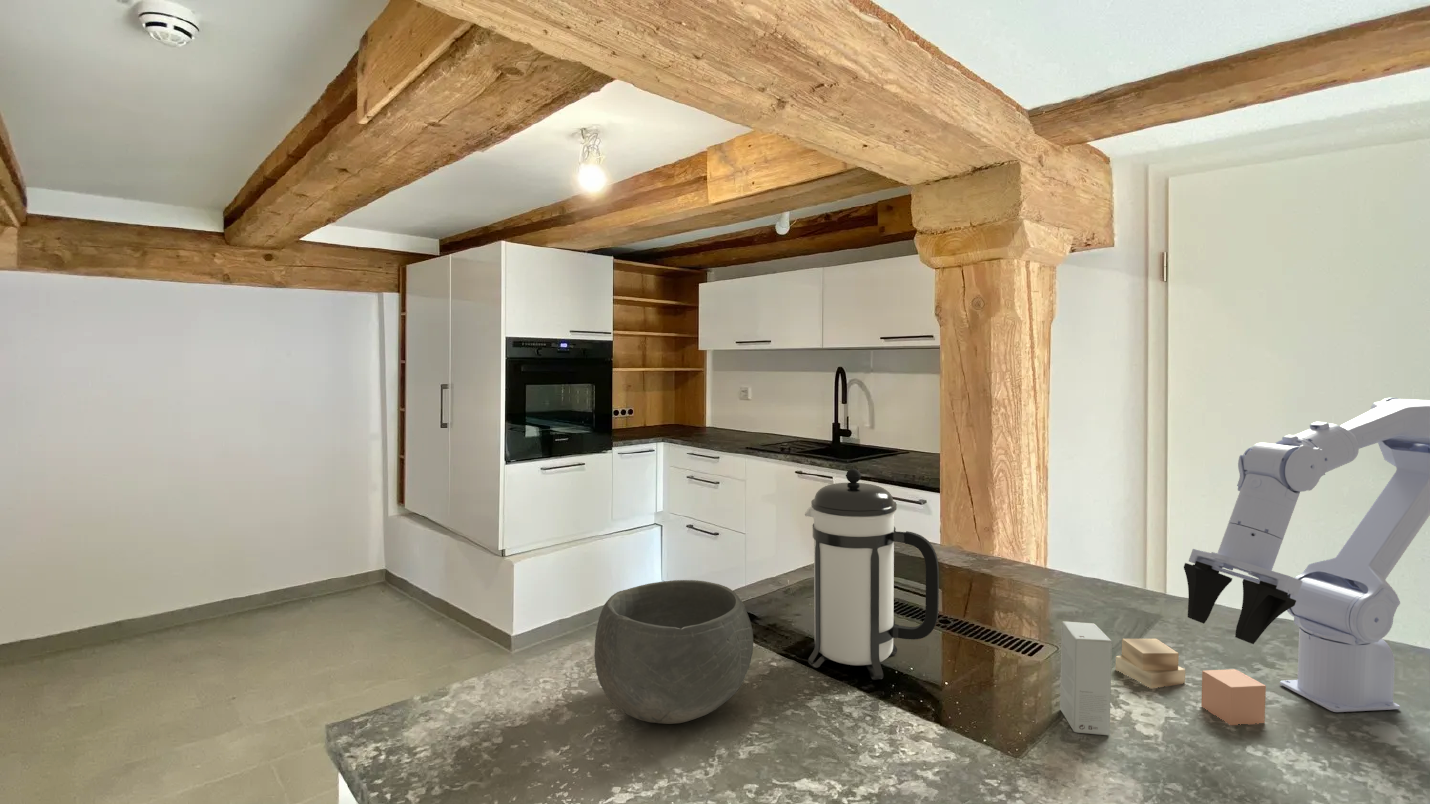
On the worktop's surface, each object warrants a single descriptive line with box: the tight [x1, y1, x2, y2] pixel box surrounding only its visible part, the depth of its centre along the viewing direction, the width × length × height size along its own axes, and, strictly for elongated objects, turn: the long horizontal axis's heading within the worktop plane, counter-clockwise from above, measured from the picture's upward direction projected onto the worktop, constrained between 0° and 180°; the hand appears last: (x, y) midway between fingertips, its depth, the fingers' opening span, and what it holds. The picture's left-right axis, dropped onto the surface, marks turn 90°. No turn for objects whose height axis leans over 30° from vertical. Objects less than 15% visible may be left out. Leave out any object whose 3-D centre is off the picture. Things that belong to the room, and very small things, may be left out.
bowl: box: [594, 579, 754, 725], centre depth 90 cm, size 21×21×15 cm
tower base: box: [1115, 654, 1186, 690], centre depth 98 cm, size 6×6×2 cm
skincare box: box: [1059, 620, 1113, 736], centre depth 85 cm, size 6×4×12 cm
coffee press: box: [804, 468, 940, 681], centre depth 103 cm, size 17×16×30 cm
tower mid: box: [1121, 638, 1180, 671], centre depth 97 cm, size 5×5×2 cm
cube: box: [1200, 668, 1267, 726], centre depth 87 cm, size 5×5×5 cm
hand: (1218, 630), depth 87 cm, fingers open, 7 cm apart
